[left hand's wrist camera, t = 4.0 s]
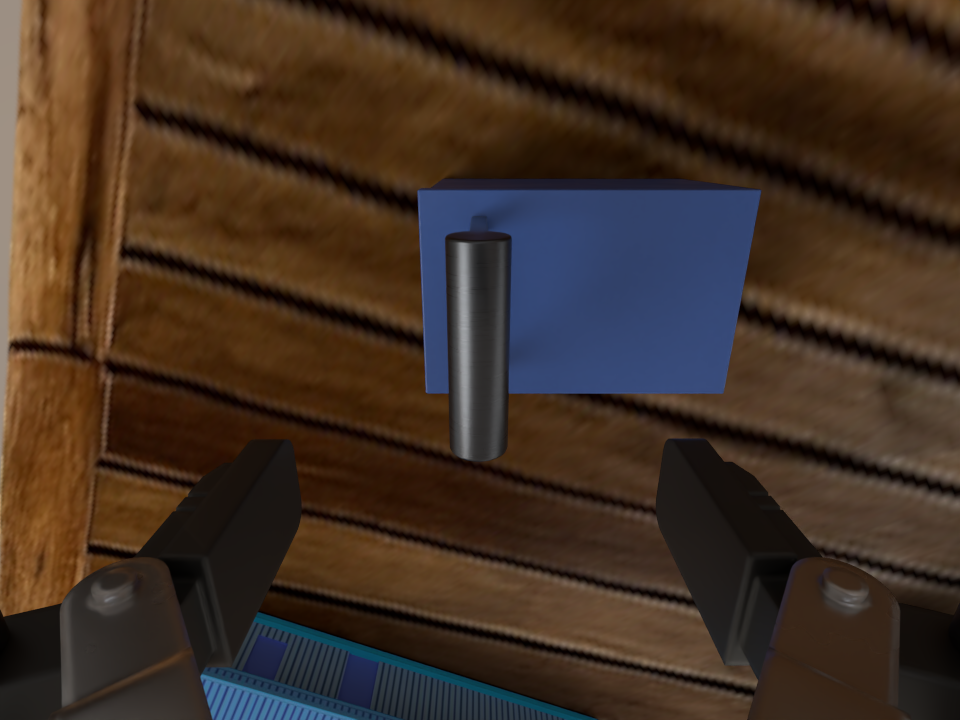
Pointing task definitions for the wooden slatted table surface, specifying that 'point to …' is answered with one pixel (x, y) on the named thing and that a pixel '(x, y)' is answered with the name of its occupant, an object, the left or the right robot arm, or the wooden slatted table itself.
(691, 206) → the lid
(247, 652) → the model building
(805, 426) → the wooden slatted table surface
